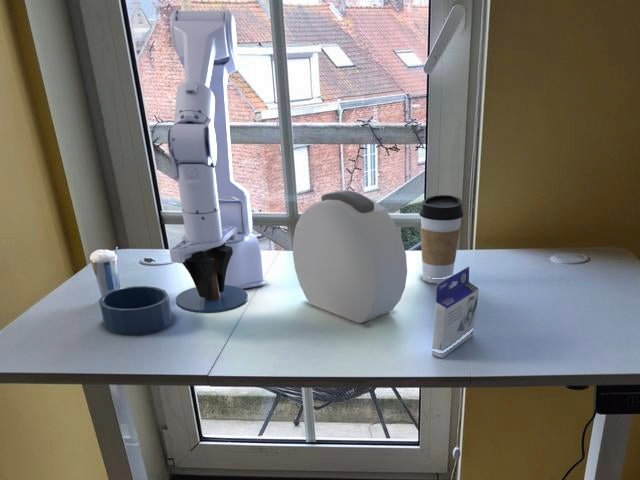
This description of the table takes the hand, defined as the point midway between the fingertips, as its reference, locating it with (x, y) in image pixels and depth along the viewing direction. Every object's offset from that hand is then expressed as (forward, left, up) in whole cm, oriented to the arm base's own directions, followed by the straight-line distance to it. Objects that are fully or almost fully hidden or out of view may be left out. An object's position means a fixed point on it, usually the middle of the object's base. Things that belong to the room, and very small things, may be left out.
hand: (211, 294), depth 123 cm
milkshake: (+12, -20, -6) cm, 24 cm away
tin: (+11, -8, -6) cm, 15 cm away
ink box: (-31, +27, -6) cm, 42 cm away
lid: (0, 0, -1) cm, 1 cm away
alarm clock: (-24, +4, -6) cm, 25 cm away
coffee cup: (-47, -1, -6) cm, 47 cm away
